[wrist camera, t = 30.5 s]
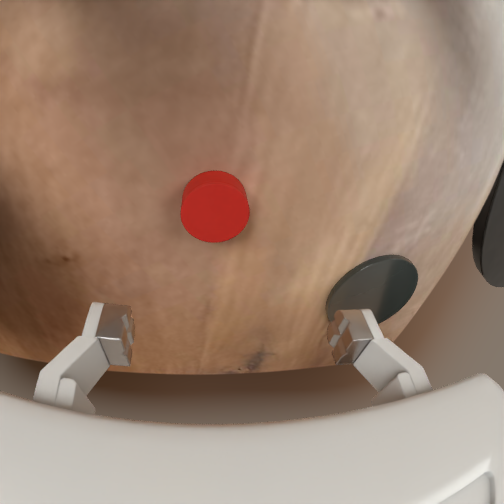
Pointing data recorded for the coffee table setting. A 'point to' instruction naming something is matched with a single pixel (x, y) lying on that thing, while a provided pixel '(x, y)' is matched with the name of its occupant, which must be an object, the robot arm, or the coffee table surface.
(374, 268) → the coaster
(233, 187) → the cap
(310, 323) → the coffee table surface
